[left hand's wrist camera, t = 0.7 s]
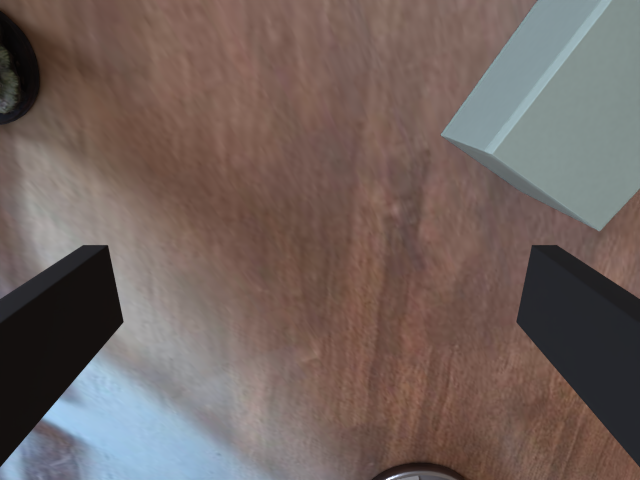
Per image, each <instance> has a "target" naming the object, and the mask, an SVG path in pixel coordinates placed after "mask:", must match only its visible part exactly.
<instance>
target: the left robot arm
mask: <svg viewBox="0 0 640 480" xmlns="http://www.w3.org/2000/svg"><path fill="white" fill-rule="evenodd" d="M122 323H123V317H122V312H121V307H120V302H119V297H118V292H117V287H116V282H115V278H114V273H113V268H112V263H111V258H110V253H109V248H108V245H83V246H81V247H80V248H78V249H77V250H75V251H74V252H72V253H70V254H69V255H67V256H66V257H64V258H63V259H61V260H60V261H58V262H57V263H55V264H54V265H52V266H50V267H49V268H47V269H46V270H44V271H43V272H41V273H40V274H38V275H37V276H35V277H34V278H32V279H31V280H29V281H27V282H26V283H24V284H23V285H21V286H20V287H18V288H17V289H15V290H14V291H12V292H11V293H9V294H7V295H6V296H4V297H3V298H1V299H0V467H1V466H2V464H3V463H4V462H5V461H6V460H7V459H8V457H9V456H10V455H11V454H12V453H13V452H14V450H15V449H16V448H17V447H18V446H19V444H20V443H21V442H22V441H23V440H24V439H25V437H26V436H27V435H28V434H29V433H30V432H31V430H32V429H33V428H34V427H35V426H36V424H37V423H38V422H39V421H40V420H41V419H42V417H43V416H44V415H45V414H46V413H47V412H48V410H49V409H50V408H51V407H52V406H53V404H54V403H55V402H56V401H57V400H58V399H59V397H60V396H61V395H62V394H63V393H64V392H65V390H66V389H67V388H68V387H69V386H70V384H71V383H72V382H73V381H74V380H75V379H76V377H77V376H78V375H79V374H80V373H81V372H82V370H83V369H84V368H85V367H86V366H87V364H88V363H89V362H90V361H91V360H92V359H93V357H94V356H95V355H96V354H97V353H98V352H99V350H100V349H101V348H102V347H103V346H104V345H105V343H106V342H107V341H108V340H109V339H110V337H111V336H112V335H113V334H114V333H115V332H116V330H117V329H118V328H119V327H120V326H121V325H122ZM517 323H518V325H519V326H520V327H521V328H522V329H523V330H524V332H525V333H526V334H527V335H528V336H529V337H530V339H531V340H532V341H533V342H534V343H535V345H536V346H537V347H538V348H539V349H540V350H541V352H542V353H543V354H544V355H545V356H546V357H547V359H548V360H549V361H550V362H551V363H552V364H553V366H554V367H555V368H556V369H557V370H558V372H559V373H560V374H561V375H562V376H563V377H564V379H565V380H566V381H567V382H568V383H569V384H570V386H571V387H572V388H573V389H574V390H575V392H576V393H577V394H578V395H579V396H580V397H581V399H582V400H583V401H584V402H585V403H586V404H587V406H588V407H589V408H590V409H591V410H592V412H593V413H594V414H595V415H596V416H597V417H598V419H599V420H600V421H601V422H602V423H603V424H604V426H605V427H606V428H607V429H608V430H609V432H610V433H611V434H612V435H613V436H614V437H615V439H616V440H617V441H618V442H619V443H620V444H621V446H622V447H623V448H624V449H625V450H626V452H627V453H628V454H629V455H630V456H631V457H632V459H633V460H634V461H635V462H636V463H637V464H638V466H639V467H640V299H639V298H637V297H636V296H634V295H633V294H631V293H629V292H628V291H626V290H625V289H623V288H622V287H620V286H619V285H617V284H616V283H614V282H613V281H611V280H609V279H608V278H606V277H605V276H603V275H602V274H600V273H599V272H597V271H596V270H594V269H593V268H591V267H590V266H588V265H586V264H585V263H583V262H582V261H580V260H579V259H577V258H576V257H574V256H573V255H571V254H570V253H568V252H566V251H565V250H563V249H562V248H560V247H559V246H557V245H532V248H531V253H530V258H529V263H528V268H527V273H526V278H525V282H524V287H523V292H522V297H521V302H520V307H519V312H518V317H517ZM372 480H464V479H463V478H462V477H461V476H460V475H459V474H458V473H456V472H454V471H453V470H451V469H449V468H446V467H443V466H440V465H435V464H429V463H412V464H405V465H401V466H397V467H394V468H391V469H389V470H386V471H384V472H382V473H381V474H379V475H378V476H376V477H375V478H374V479H372Z"/></svg>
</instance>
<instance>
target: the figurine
mask: <svg viewBox="0 0 640 480" xmlns="http://www.w3.org/2000/svg"><path fill="white" fill-rule="evenodd" d="M38 90H39V71H38V66H37V61H36V57H35V54H34V52H33V50H32V47H31V45H30V43H29V41H28V39H27V38H26V36H25V35H24V33H23V32H22V31H21V30H20V29H19V27H18V26H17V25H16V24H14V23H13V22H12V21H11V20H10V19H9V18H8V17H7V16H6V15H5V14H3V13H2V12H1V11H0V125H2V124H7V123H10V122H12V121H15V120H17V119H18V118H20V117H21V116H23V115H24V114H25V113H26V112H27V111H28V110H29V108H30V107H31V106H32V104H33V103H34V101H35V98H36V96H37V94H38Z"/></svg>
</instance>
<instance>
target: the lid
mask: <svg viewBox="0 0 640 480" xmlns="http://www.w3.org/2000/svg"><path fill="white" fill-rule="evenodd" d="M485 152H486V153H487V154H489V155H490V156H491V157H493V158H494V159H496V160H497V161H498V162H500V163H501V164H503V165H504V166H505V167H507V168H508V169H510V170H511V171H512V172H514V173H515V174H517V175H518V176H519V177H521V178H522V179H524V180H525V181H527V182H528V183H529V184H531V185H532V186H534V187H535V188H536V189H538V190H539V191H541V192H542V193H543V194H545V195H546V196H548V197H549V198H550V199H552V200H553V201H555V202H556V203H557V204H559V205H560V206H562V207H563V208H565V209H566V210H567V211H569V212H570V213H572V214H573V215H574V216H576V217H577V218H579V219H580V220H581V221H583V222H584V223H586V224H587V225H588V226H590V227H592V228H594V229H596V230H598V231H600V230H601V229H602V228H603V227H604V226H605V225H606V224H607V223H608V222H609V221H610V220H611V219H612V218H613V217H614V216H615V215H616V213H617V212H618V211H619V210H620V209H621V208H622V207H623V206H624V205H625V204H626V203H627V202H628V201H629V200H630V199H631V198H632V196H633V195H634V194H635V193H636V192H637V191H638V190H639V189H640V0H601V1H600V3H599V4H598V5H597V7H596V8H595V9H594V11H593V12H592V13H591V14H590V16H589V17H588V18H587V20H586V21H585V22H584V24H583V25H582V26H581V27H580V29H579V30H578V31H577V33H576V34H575V35H574V36H573V38H572V39H571V40H570V42H569V43H568V44H567V46H566V47H565V48H564V49H563V51H562V52H561V53H560V55H559V56H558V57H557V58H556V60H555V61H554V62H553V64H552V65H551V66H550V68H549V69H548V70H547V71H546V73H545V74H544V75H543V77H542V78H541V79H540V81H539V82H538V83H537V84H536V86H535V87H534V88H533V90H532V91H531V92H530V93H529V95H528V96H527V97H526V99H525V100H524V101H523V103H522V104H521V105H520V106H519V108H518V109H517V110H516V112H515V113H514V114H513V116H512V117H511V118H510V119H509V121H508V122H507V123H506V125H505V126H504V127H503V128H502V130H501V131H500V132H499V134H498V135H497V136H496V138H495V139H494V140H493V141H492V143H491V144H490V145H489V147H488V148H487V149H486V150H485Z"/></svg>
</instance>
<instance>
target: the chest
mask: <svg viewBox="0 0 640 480" xmlns="http://www.w3.org/2000/svg"><path fill="white" fill-rule="evenodd" d="M600 1H601V0H538V1H537V2H536V3H535V5H534V6H533V8H532V9H531V10H530V12H529V13H528V14H527V16H526V17H525V19H524V20H523V21H522V23H521V24H520V26H519V27H518V28H517V30H516V31H515V32H514V34H513V35H512V37H511V38H510V39H509V41H508V42H507V44H506V45H505V46H504V48H503V49H502V50H501V52H500V53H499V55H498V56H497V57H496V59H495V60H494V62H493V63H492V64H491V66H490V67H489V68H488V70H487V71H486V73H485V74H484V75H483V77H482V78H481V80H480V81H479V82H478V84H477V85H476V86H475V88H474V89H473V91H472V92H471V93H470V95H469V96H468V98H467V99H466V100H465V102H464V103H463V105H462V106H461V107H460V109H459V110H458V111H457V113H456V114H455V116H454V117H453V118H452V120H451V121H450V123H449V124H448V125H447V127H446V128H445V129H444V131H443V132H442V134H441V136H442V137H444V138H445V139H447V140H448V141H449V142H451V143H452V144H454V145H455V146H457V147H458V148H459V149H461V150H462V151H464V152H465V153H467V154H468V155H469V156H471V157H472V158H474V159H475V160H477V161H478V162H479V163H481V164H482V165H484V166H485V167H487V168H488V169H489V170H491V171H492V172H494V173H495V174H497V175H498V176H499V177H501V178H502V179H504V180H505V181H507V182H508V183H509V184H511V185H512V186H514V187H515V188H516V189H518V190H519V191H521V192H523V193H525V194H527V195H529V196H531V197H533V198H535V199H537V200H539V201H541V202H543V203H545V204H547V205H549V206H551V207H552V208H554V209H556V210H558V211H560V212H562V213H564V214H566V215H568V216H570V217H572V218H574V219H576V220H578V221H580V222H582V223H584V222H583V221H581V220H580V219H579V218H577V217H576V216H574V215H573V214H572V213H570V212H569V211H567V210H566V209H565V208H563V207H562V206H560V205H559V204H557V203H556V202H555V201H553V200H552V199H550V198H549V197H548V196H546V195H545V194H543V193H542V192H541V191H539V190H538V189H536V188H535V187H534V186H532V185H531V184H529V183H528V182H527V181H525V180H524V179H522V178H521V177H519V176H518V175H517V174H515V173H514V172H512V171H511V170H510V169H508V168H507V167H505V166H504V165H503V164H501V163H500V162H498V161H497V160H496V159H494V158H493V157H491V156H490V155H489V154H487V153H486V152H485V150H486V149H487V148H488V147H489V145H490V144H491V143H492V141H493V140H494V139H495V138H496V136H497V135H498V134H499V132H500V131H501V130H502V128H503V127H504V126H505V125H506V123H507V122H508V121H509V119H510V118H511V117H512V116H513V114H514V113H515V112H516V110H517V109H518V108H519V106H520V105H521V104H522V103H523V101H524V100H525V99H526V97H527V96H528V95H529V93H530V92H531V91H532V90H533V88H534V87H535V86H536V84H537V83H538V82H539V81H540V79H541V78H542V77H543V75H544V74H545V73H546V71H547V70H548V69H549V68H550V66H551V65H552V64H553V62H554V61H555V60H556V58H557V57H558V56H559V55H560V53H561V52H562V51H563V49H564V48H565V47H566V46H567V44H568V43H569V42H570V40H571V39H572V38H573V36H574V35H575V34H576V33H577V31H578V30H579V29H580V27H581V26H582V25H583V24H584V22H585V21H586V20H587V18H588V17H589V16H590V14H591V13H592V12H593V11H594V9H595V8H596V7H597V5H598V4H599V3H600ZM584 224H586V223H584ZM586 225H587V224H586Z"/></svg>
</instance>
